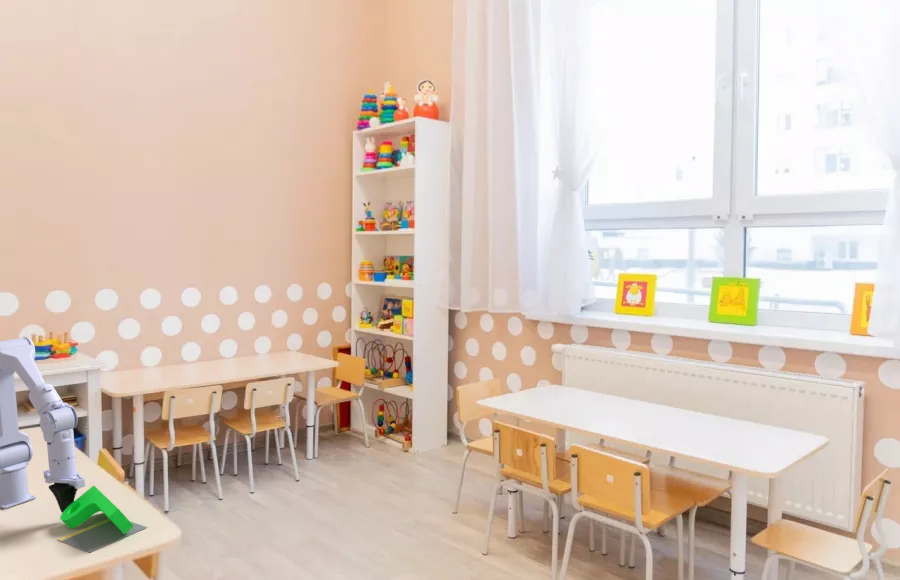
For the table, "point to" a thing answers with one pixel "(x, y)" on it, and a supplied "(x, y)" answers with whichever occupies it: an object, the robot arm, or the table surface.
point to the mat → (98, 535)
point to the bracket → (94, 510)
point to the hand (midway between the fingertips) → (66, 511)
